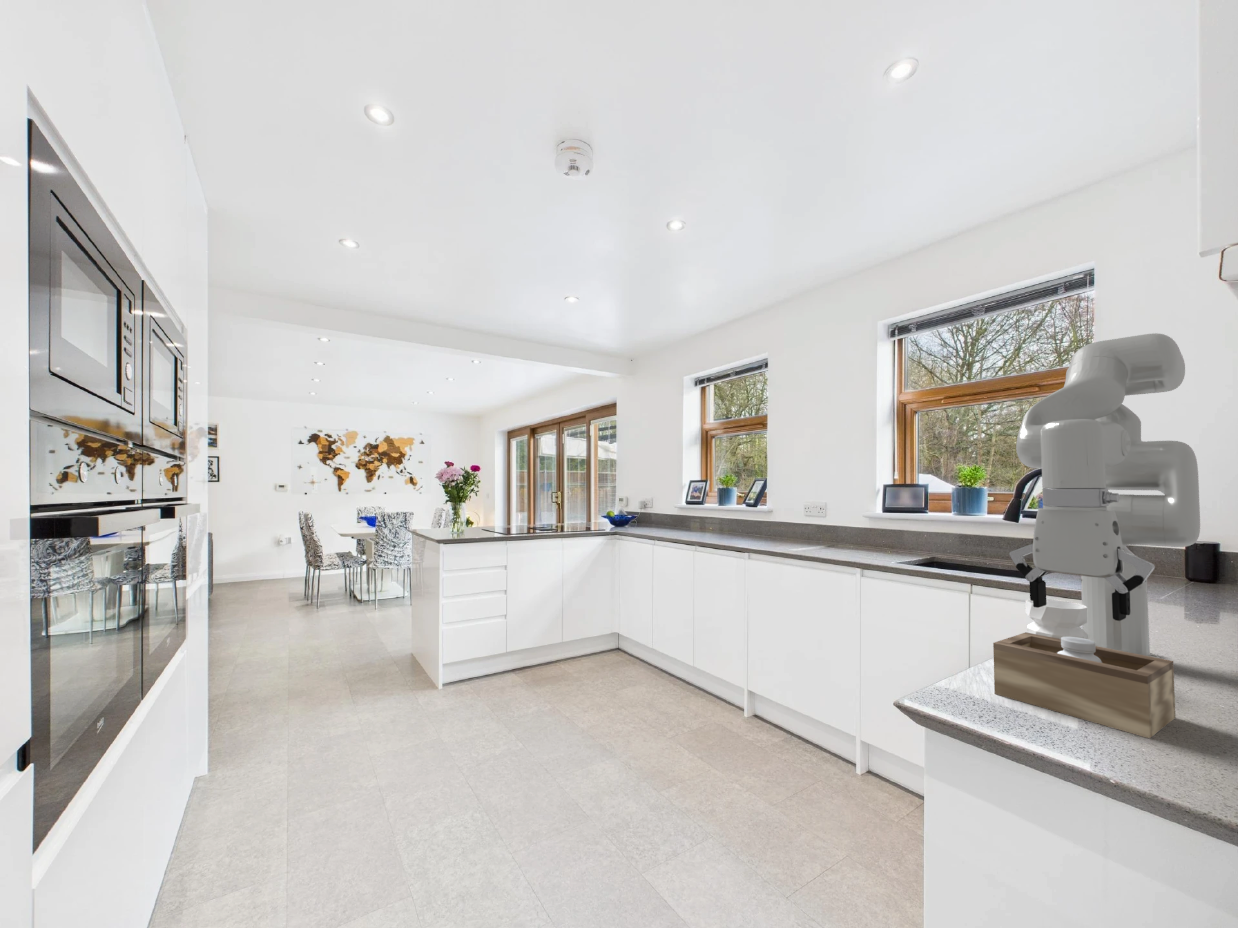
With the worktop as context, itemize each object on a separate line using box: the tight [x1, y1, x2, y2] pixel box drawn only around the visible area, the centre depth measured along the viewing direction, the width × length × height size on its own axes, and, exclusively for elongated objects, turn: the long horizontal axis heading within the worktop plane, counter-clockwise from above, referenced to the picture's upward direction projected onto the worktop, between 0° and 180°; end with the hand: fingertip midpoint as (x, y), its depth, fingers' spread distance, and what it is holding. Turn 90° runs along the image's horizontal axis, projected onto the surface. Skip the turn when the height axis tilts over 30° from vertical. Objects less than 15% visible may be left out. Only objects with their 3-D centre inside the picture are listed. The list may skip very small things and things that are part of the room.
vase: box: [1024, 598, 1089, 640], centre depth 97 cm, size 9×9×12 cm
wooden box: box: [992, 631, 1176, 739], centre depth 81 cm, size 12×18×8 cm, turn 33°
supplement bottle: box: [1058, 637, 1102, 663], centre depth 81 cm, size 5×5×10 cm
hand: (1077, 612), depth 82 cm, fingers open, 9 cm apart
